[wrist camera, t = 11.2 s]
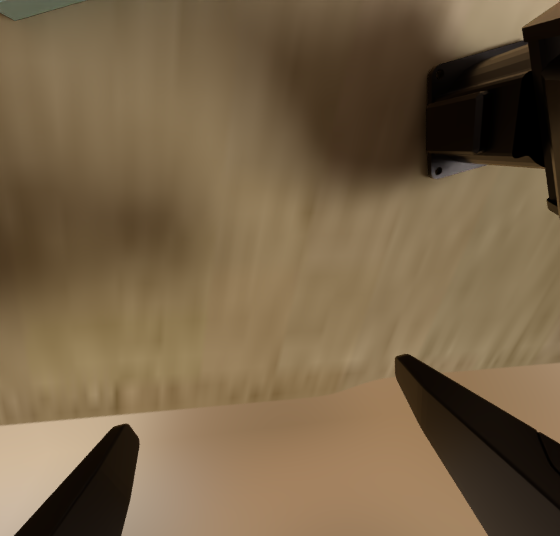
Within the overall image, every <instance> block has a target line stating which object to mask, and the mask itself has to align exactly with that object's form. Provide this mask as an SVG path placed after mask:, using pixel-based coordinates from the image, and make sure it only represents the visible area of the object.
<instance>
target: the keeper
mask: <svg viewBox="0 0 560 536" xmlns="http://www.w3.org/2000/svg"><path fill="white" fill-rule="evenodd" d="M82 1H86V0H0V13H2V14H4V15H5V16H7V17H9V18H11V19H13V20H15V21H16V20H19V19H23V18H26V17H30V16H33V15H37V14H40V13H44V12H47V11H51V10H54V9H58V8H61V7H65V6H68V5H72V4H75V3H79V2H82Z"/></svg>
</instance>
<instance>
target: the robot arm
mask: <svg viewBox="0 0 560 536" xmlns="http://www.w3.org/2000/svg"><path fill="white" fill-rule="evenodd" d="M522 31H523V38H524V41H520V42H517V43H513V44H510V45H506V46H503V47H499V48H496V49H492V50H489V51H485V52H482V53H478V54H475V55H471V56H467V57H464V58H460V59H457V60H453V61H450V62H446V63H443V64H440V65H437V66H435V67H433V68H432V69H431V70H430V72H429V74H428V78H427V87H428V107H427V109H426V150H427V151H428V176H429V177H430V178H433V179H439V178H443V177H446V176H450V175H453V174H457V173H460V172H464V171H467V170H471V169H475V168H478V167H482V166H485V165H500V166H513V167H527V168H541V169H545V171H546V178H547V185H548V193H549V198H548V199H547V206H548V209H549V210H550V211H552V212H554V213H555V214H557V215H558V216H559V218H560V2H559V3H557V4H556V5H554V6H553V7H551V8H550V9H548V10H547V11H545V12H544V13H543V14H541V15H540V16H538V17H537V18H535V19H534V20H532V21H531V22H529V23H528V24H526V25H525V26H524V27H522ZM437 71H438V72H439V74H440V76H439V79H437V78H436V73H437ZM437 168H438V172H437V174H435V170H436V169H437ZM395 375H396V379H397V381H398V383H399V385H400V387H401V389H402V391H403V393H404V395H405V397H406V399H407V401H408V403H409V405H410V407H411V409H412V411H413V413H414V415H415V417H416V419H417V421H418V423H419V425H420V427H421V429H422V430H423V432H424V434H425V435H426V437H427V439H428V440H429V441H430V443H431V445H432V447H433V448H434V450H435V451H436V453H437V455H438V456H439V458H440V459H441V461H442V462H443V464H444V466H445V467H446V469H447V470H448V472H449V474H450V475H451V477H452V478H453V480H454V482H455V483H456V485H457V487H458V488H459V490H460V491H461V492H462V494H463V496H464V498H465V499H466V501H467V503H468V504H469V506H470V507H471V509H472V510H473V512H474V514H475V515H476V517H477V518H478V520H479V522H480V523H481V525H482V526H483V528H484V530H485V531H486V533H487V534H488V536H560V444H559V443H558V442H556V441H554V440H553V439H551V438H549V437H547V436H546V435H544V434H542V433H541V432H537V431H536V430H535V429H534V428H532V427H531V426H529V425H527V424H525V423H524V422H522V421H520V420H519V419H517V418H515V417H514V416H512V415H510V414H509V413H507V412H505V411H503V410H502V409H500V408H499V407H497V406H495V405H494V404H492V403H490V402H488V401H487V400H485V399H483V398H482V397H480V396H478V395H476V394H475V393H473V392H471V391H470V390H468V389H466V388H465V387H463V386H461V385H460V384H458V383H456V382H455V381H453V380H451V379H450V378H448V377H446V376H445V375H443V374H441V373H440V372H438V371H436V370H435V369H433V368H431V367H430V366H428V365H426V364H425V363H423V362H421V361H420V360H418V359H416V358H414V357H413V356H411V355H409V354H403V355H399V356H396V357H395ZM138 451H139V438H138V436H137V435H136V434H135V432H134V431H133V429H132V428H131V427H130V425H129V424H122V425H118V426H115V427H113V428H112V429H111V430H110V431H109V432H108V433H107V434H106V435H105V436H104V438H103V439H102V440H101V441H100V442H99V443H98V444H97V445H96V446H95V447H94V449H92V451H91V452H90V453H89V454H88V455H87V456H86V458H84V459H83V460H82V462H81V463H80V464H79V465H78V466H77V467H76V468H75V469H74V470H73V471H72V473H71V474H70V475H69V476H68V477H67V478H66V479H65V480H64V481H63V482H62V484H61V485H60V486H59V487H58V488H57V489H56V490H55V492H53V493H52V495H51V496H50V497H49V498H48V499H47V500H46V501H45V502H44V503H43V504H42V505H41V507H40V508H39V509H38V510H37V511H36V512H35V513H34V514H33V515H32V516H31V518H30V519H29V520H28V521H27V522H26V523H25V524H24V525H23V526H22V527H21V529H20V530H19V531H18V532H17V533H16V534H15V535H14V536H121V534H122V530H123V526H124V522H125V518H126V514H127V510H128V506H129V502H130V498H131V492H132V487H133V481H134V475H135V469H136V463H137V457H138Z"/></svg>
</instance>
